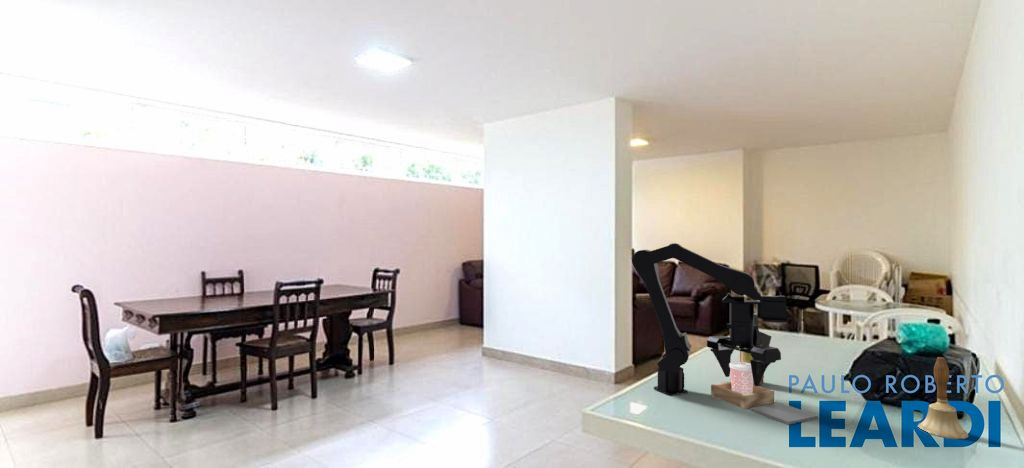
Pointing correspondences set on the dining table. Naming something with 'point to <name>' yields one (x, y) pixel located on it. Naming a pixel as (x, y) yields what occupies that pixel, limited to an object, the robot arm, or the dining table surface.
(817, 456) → the dining table surface
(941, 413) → the hand bell
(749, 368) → the beverage cup
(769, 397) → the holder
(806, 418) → the coaster
